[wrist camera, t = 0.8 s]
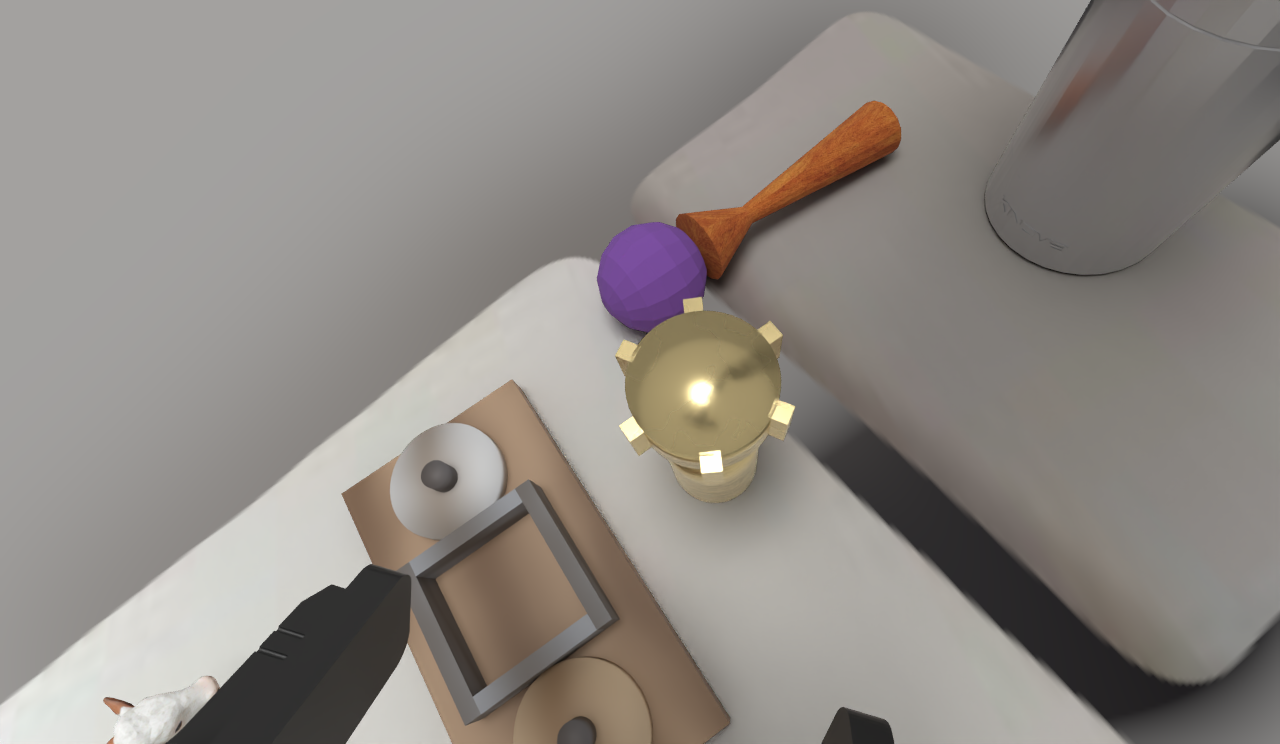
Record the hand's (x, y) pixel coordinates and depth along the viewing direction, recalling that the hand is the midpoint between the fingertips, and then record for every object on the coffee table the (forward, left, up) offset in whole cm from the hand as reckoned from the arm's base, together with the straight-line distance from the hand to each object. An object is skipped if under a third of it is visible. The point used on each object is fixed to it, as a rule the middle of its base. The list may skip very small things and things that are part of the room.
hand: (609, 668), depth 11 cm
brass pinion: (-6, -6, -20) cm, 22 cm away
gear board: (+6, -6, -20) cm, 22 cm away
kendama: (-16, -16, -20) cm, 31 cm away
